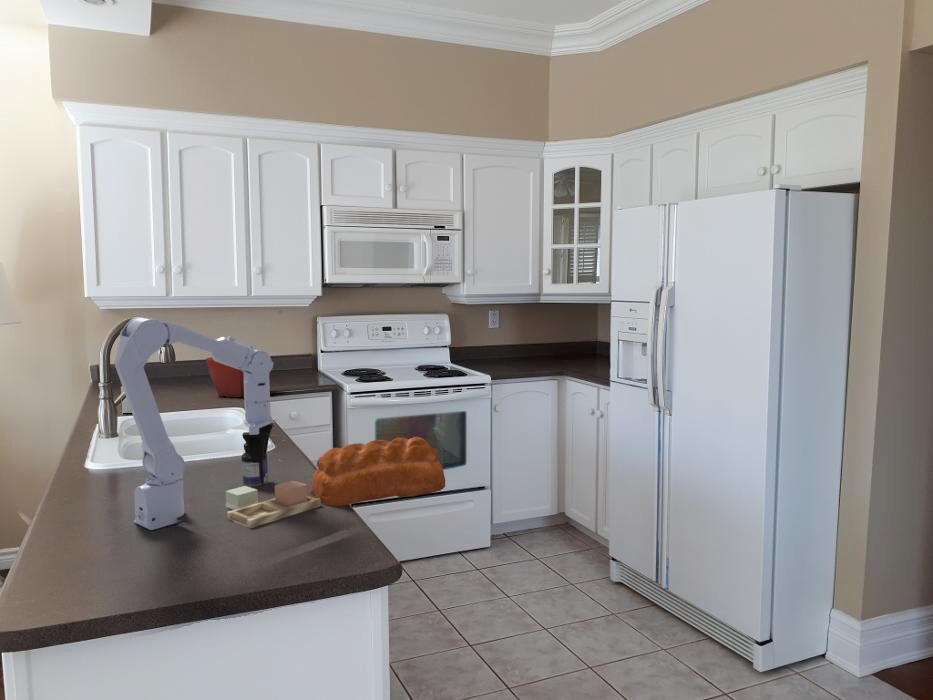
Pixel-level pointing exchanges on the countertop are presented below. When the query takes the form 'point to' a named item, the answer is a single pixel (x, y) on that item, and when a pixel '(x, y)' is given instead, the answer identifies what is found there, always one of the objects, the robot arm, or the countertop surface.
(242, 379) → the plant pot
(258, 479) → the pill bottle
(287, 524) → the countertop surface
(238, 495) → the two tone brick
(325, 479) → the bread
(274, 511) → the socket board
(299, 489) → the terracotta brick
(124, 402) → the small box
